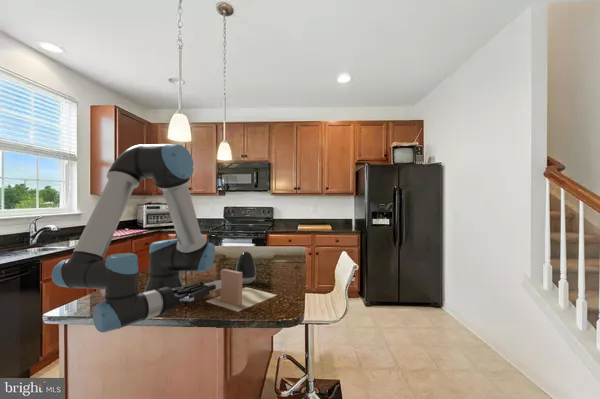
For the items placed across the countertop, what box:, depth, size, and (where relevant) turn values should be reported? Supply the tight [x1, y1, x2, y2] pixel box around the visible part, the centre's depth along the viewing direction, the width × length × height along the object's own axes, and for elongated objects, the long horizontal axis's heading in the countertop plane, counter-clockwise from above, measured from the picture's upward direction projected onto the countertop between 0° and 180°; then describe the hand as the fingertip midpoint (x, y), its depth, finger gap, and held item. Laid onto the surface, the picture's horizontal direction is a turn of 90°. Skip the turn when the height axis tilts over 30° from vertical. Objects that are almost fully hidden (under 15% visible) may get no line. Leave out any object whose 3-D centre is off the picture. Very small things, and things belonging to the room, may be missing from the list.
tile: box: [219, 268, 243, 306], centre depth 108 cm, size 2×10×12 cm, turn 55°
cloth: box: [205, 287, 277, 313], centre depth 113 cm, size 22×18×1 cm
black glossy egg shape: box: [235, 251, 257, 285], centre depth 137 cm, size 10×10×15 cm
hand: (220, 284), depth 103 cm, fingers closed
